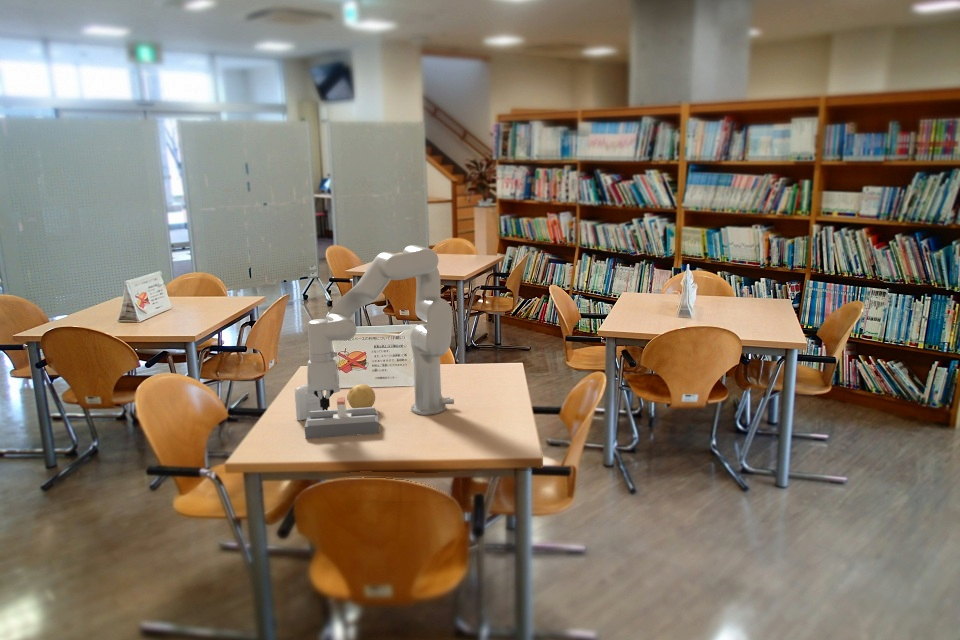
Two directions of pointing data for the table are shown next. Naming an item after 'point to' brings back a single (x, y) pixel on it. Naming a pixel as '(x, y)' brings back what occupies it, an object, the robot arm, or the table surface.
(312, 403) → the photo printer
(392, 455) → the table surface
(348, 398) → the stress ball
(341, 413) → the knob
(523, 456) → the table surface
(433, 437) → the table surface
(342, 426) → the gray slider track
